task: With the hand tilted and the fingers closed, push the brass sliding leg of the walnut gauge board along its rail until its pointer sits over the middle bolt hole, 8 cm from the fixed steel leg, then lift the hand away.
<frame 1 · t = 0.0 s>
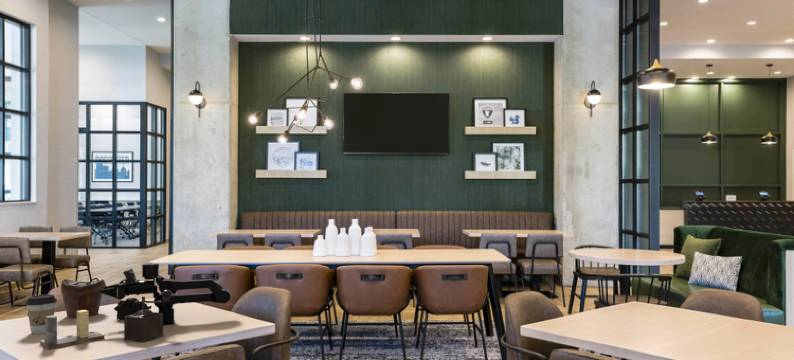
hand: (102, 289, 239), 17 cm above the table, tool horizontal, fingers open, 9 cm apart
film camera: (134, 319, 257), on the table
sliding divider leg: (81, 323, 220), point 7 cm above the table, slide at -3.0 cm
coffee cup: (41, 332, 234), on the table
gauge board: (74, 342, 217), on the table
case: (83, 315, 266), on the table
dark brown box: (149, 337, 224), on the table
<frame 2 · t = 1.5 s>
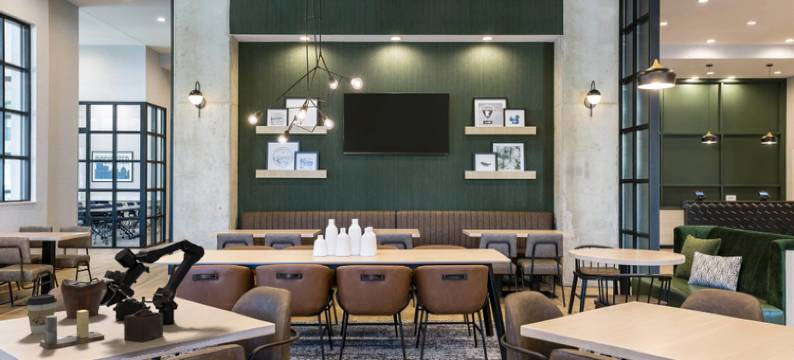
hand: (103, 305, 225), 13 cm above the table, tool tilted 45°, fingers open, 7 cm apart
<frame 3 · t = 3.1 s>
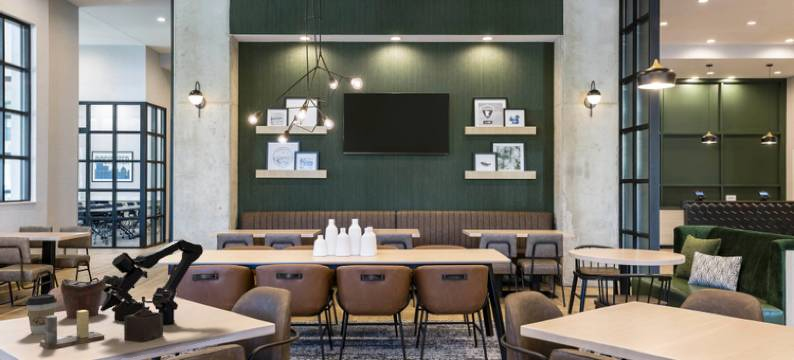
hand: (101, 310, 224), 11 cm above the table, tool tilted 45°, fingers closed
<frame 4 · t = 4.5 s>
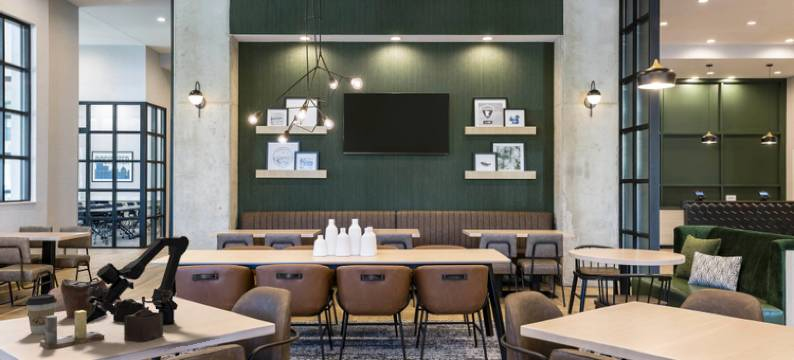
hand: (85, 323, 220), 7 cm above the table, tool tilted 45°, fingers closed, pressing on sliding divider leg
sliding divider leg: (79, 323, 220), point 7 cm above the table, slide at -2.2 cm, touching gripper
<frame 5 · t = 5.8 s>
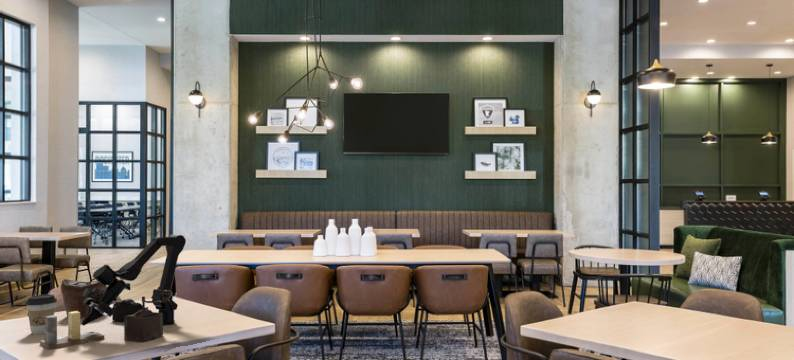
hand: (82, 324, 219), 6 cm above the table, tool tilted 45°, fingers closed
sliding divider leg: (72, 324, 218), point 7 cm above the table, slide at 0.0 cm
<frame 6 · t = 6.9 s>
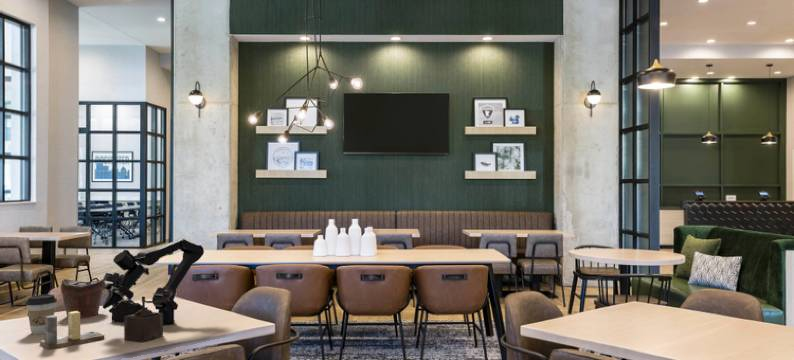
hand: (103, 308, 225), 12 cm above the table, tool tilted 45°, fingers closed
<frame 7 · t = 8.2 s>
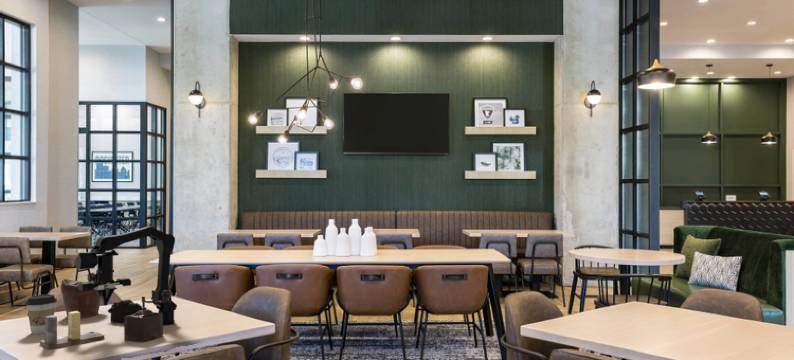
hand: (105, 305, 228), 12 cm above the table, tool pointing down, fingers closed
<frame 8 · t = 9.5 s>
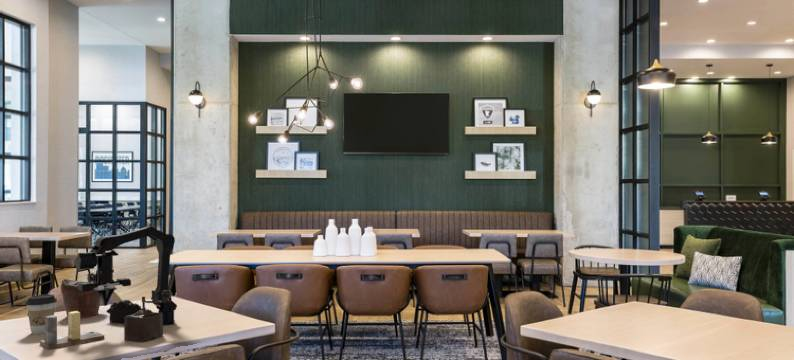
hand: (105, 305, 228), 12 cm above the table, tool pointing down, fingers closed
at the end: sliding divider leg slide at 0.0 cm; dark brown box moved 0.3 cm from its start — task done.
